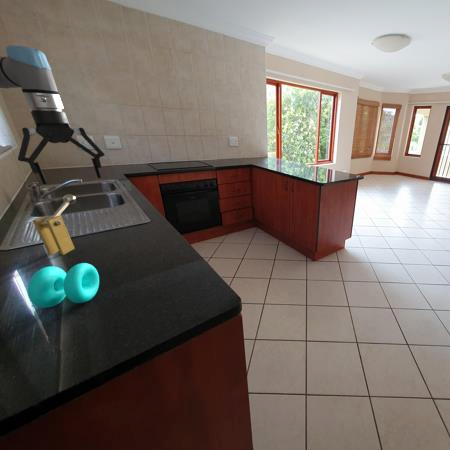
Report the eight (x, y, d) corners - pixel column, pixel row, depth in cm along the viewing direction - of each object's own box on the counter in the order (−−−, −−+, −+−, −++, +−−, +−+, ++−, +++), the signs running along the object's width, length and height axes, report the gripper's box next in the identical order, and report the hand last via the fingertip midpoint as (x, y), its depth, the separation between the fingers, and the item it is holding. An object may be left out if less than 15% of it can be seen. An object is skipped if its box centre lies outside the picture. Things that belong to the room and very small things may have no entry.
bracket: (64, 247, 87) (49, 212, 81) (87, 247, 87) (73, 212, 81) (37, 262, 77) (17, 224, 72) (62, 262, 77) (44, 224, 72)
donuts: (63, 290, 65) (48, 259, 61) (105, 285, 67) (93, 255, 63) (35, 317, 56) (16, 283, 52) (85, 310, 58) (70, 277, 54)
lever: (71, 199, 86) (64, 192, 84) (80, 199, 87) (73, 192, 84) (45, 229, 78) (36, 223, 75) (56, 229, 78) (47, 223, 75)
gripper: (-21, 107, 60) (17, 188, 69) (101, 111, 76) (120, 177, 85) (-16, 108, 65) (19, 183, 74) (98, 112, 81) (116, 173, 90)
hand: (73, 180), depth 79 cm, fingers open, 13 cm apart
